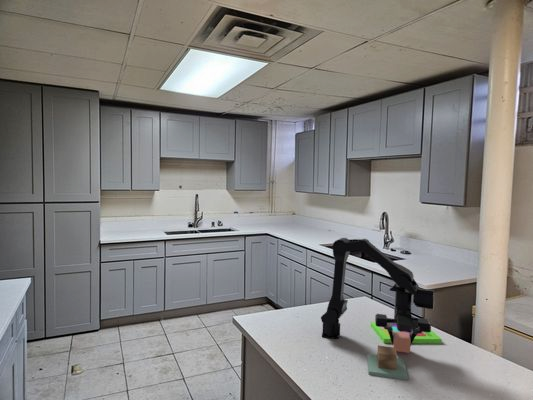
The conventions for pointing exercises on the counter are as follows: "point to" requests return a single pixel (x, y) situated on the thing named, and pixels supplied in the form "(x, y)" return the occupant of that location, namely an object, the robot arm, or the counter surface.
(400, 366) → the base plate
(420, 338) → the green block puzzle board
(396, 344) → the salmon pink brick
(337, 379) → the counter surface
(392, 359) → the walnut brick
